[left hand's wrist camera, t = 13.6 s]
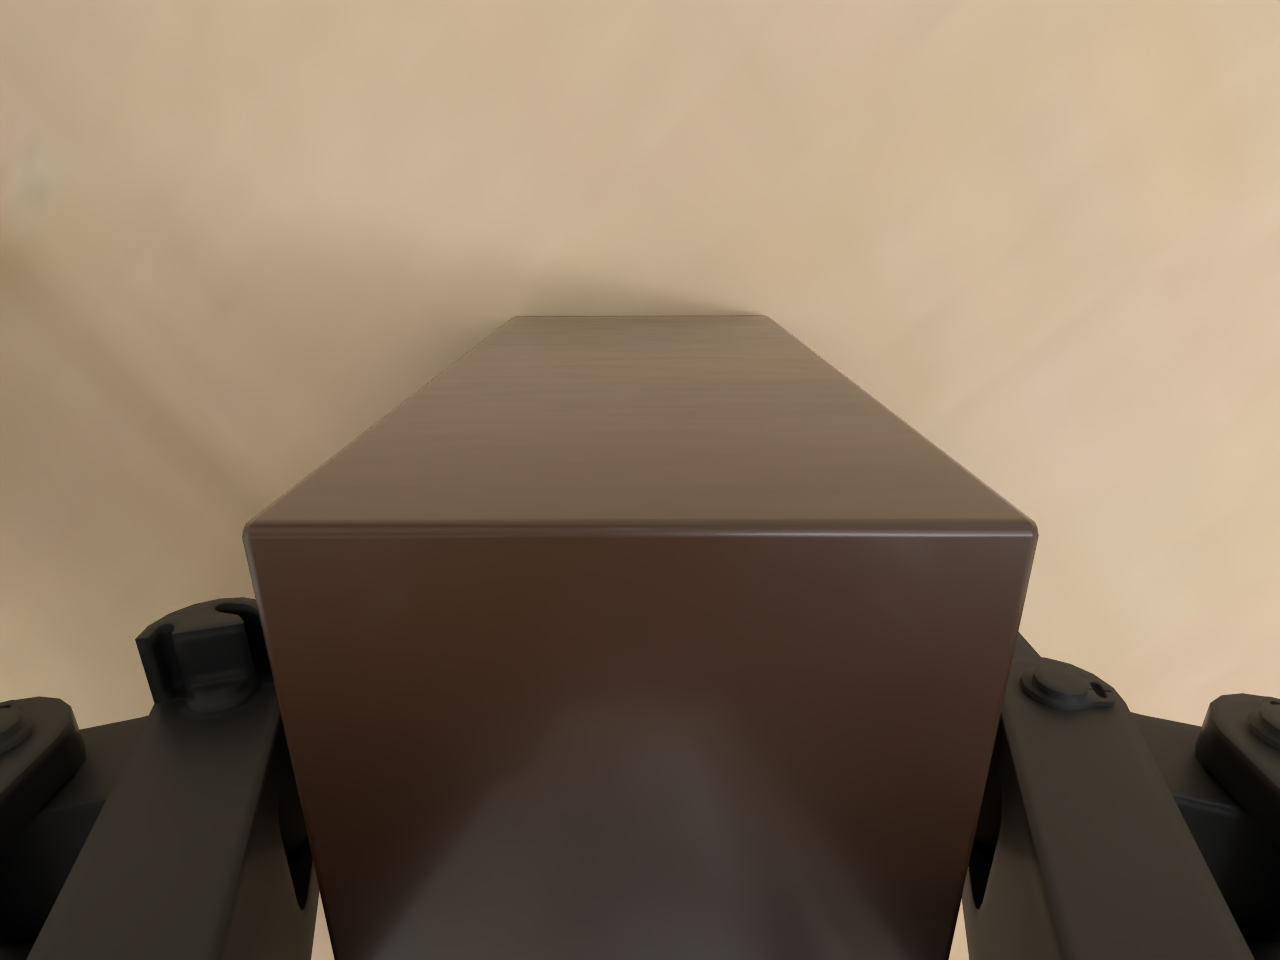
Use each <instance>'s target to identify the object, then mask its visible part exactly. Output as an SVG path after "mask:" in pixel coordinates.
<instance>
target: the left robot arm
mask: <svg viewBox="0 0 1280 960" xmlns="http://www.w3.org/2000/svg"><path fill="white" fill-rule="evenodd" d="M135 641H136V644H137V647H138V650H139V654H140V657H141V660H142V664H143V667H144V670H145V673H146V677H147V680H148V683H149V687H150V690H151V693H152V696H153V700H154V703H155V704H154V706H153V708H152V710H151V712H150V714H149V716H145V717H141V718H137V719H132V720H127V721H122V722H117V723H111V724H106V725H101V726H96V727H91V728H86V729H81V730H79V728H78V725H77V722H76V719H75V717H74V714H73V711H72V708H71V706H69V705H68V704H67V703H65V702H64V701H62V700H61V699H57V698H47V697H33V698H26V699H19V700H10V701H6V702H1V703H0V960H311V954H312V946H313V938H314V930H315V922H316V914H317V906H318V898H319V885H318V881H317V876H316V872H315V867H314V863H313V858H312V853H311V849H310V844H309V840H308V835H307V831H306V826H305V821H304V817H303V812H302V808H301V803H300V799H299V794H298V789H297V785H296V780H295V776H294V771H293V766H292V762H291V757H290V753H289V748H288V744H287V739H286V734H285V730H284V725H283V721H282V716H281V712H280V707H279V702H278V698H277V693H276V689H275V684H274V680H273V675H272V670H271V666H270V661H269V657H268V652H267V648H266V643H265V638H264V634H263V629H262V625H261V620H260V615H259V611H258V606H257V602H256V600H255V599H249V598H244V597H243V598H224V599H216V600H212V601H207V602H203V603H198V604H194V605H191V606H188V607H186V608H183V609H180V610H178V611H175V612H173V613H170V614H168V615H166V616H165V617H163V618H161V619H159V620H158V621H156V622H154V623H153V624H151V625H149V626H148V627H147V628H146V629H145V630H144V631H143V632H142V633H141V634H140V635H139V636H138V637H137V638H136V639H135ZM962 904H963V912H964V920H965V928H966V936H967V944H968V952H969V960H1280V699H1277V698H1273V697H1264V696H1257V695H1250V694H1243V693H1242V694H1231V695H1222V696H1220V697H1219V698H1217V699H1216V700H1214V701H1213V702H1211V703H1210V705H1209V708H1208V711H1207V714H1206V717H1205V719H1204V722H1203V725H1202V727H1200V726H1195V725H1190V724H1185V723H1180V722H1175V721H1170V720H1165V719H1160V718H1155V717H1149V716H1144V715H1140V714H1136V713H1132V712H1130V711H1129V709H1128V707H1127V705H1126V703H1125V702H1124V700H1123V699H1122V698H1121V697H1120V695H1119V694H1118V693H1117V692H1116V691H1115V689H1114V688H1113V687H1111V686H1110V685H1108V684H1107V683H1105V682H1104V681H1103V680H1101V679H1100V678H1098V677H1097V676H1095V675H1094V674H1092V673H1089V672H1087V671H1085V670H1083V669H1080V668H1078V667H1076V666H1074V665H1071V664H1068V663H1064V662H1060V661H1056V660H1052V659H1048V658H1042V657H1040V655H1039V654H1038V653H1037V652H1036V651H1035V650H1034V649H1033V648H1032V646H1031V645H1030V644H1029V643H1028V642H1027V641H1026V640H1025V639H1024V638H1023V636H1022V635H1021V634H1020V633H1019V632H1018V634H1017V639H1016V644H1015V649H1014V653H1013V658H1012V663H1011V667H1010V672H1009V677H1008V682H1007V686H1006V691H1005V696H1004V700H1003V705H1002V710H1001V715H1000V719H999V724H998V729H997V733H996V738H995V743H994V747H993V752H992V757H991V762H990V766H989V771H988V776H987V780H986V785H985V790H984V795H983V799H982V804H981V809H980V813H979V818H978V823H977V828H976V832H975V837H974V842H973V846H972V851H971V856H970V860H969V865H968V870H967V875H966V879H965V884H964V889H963V893H962Z"/></svg>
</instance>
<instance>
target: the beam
mask: <svg viewBox="0 0 1280 960" xmlns="http://www.w3.org/2000/svg"><path fill="white" fill-rule="evenodd" d="M242 538H243V542H244V547H245V551H246V556H247V561H248V565H249V570H250V574H251V579H252V583H253V588H254V593H255V597H256V602H257V606H258V611H259V615H260V620H261V625H262V629H263V634H264V638H265V643H266V648H267V652H268V657H269V661H270V666H271V670H272V675H273V680H274V684H275V689H276V693H277V698H278V702H279V707H280V712H281V716H282V721H283V725H284V730H285V734H286V739H287V744H288V748H289V753H290V757H291V762H292V766H293V771H294V776H295V780H296V785H297V789H298V794H299V799H300V803H301V808H302V812H303V817H304V821H305V826H306V831H307V835H308V840H309V844H310V849H311V853H312V858H313V863H314V867H315V872H316V876H317V881H318V885H319V890H320V895H321V899H322V904H323V908H324V913H325V917H326V922H327V927H328V931H329V936H330V940H331V945H332V950H333V954H334V959H335V960H948V959H949V955H950V950H951V945H952V940H953V936H954V931H955V926H956V922H957V917H958V912H959V908H960V903H961V898H962V893H963V889H964V884H965V879H966V875H967V870H968V865H969V860H970V856H971V851H972V846H973V842H974V837H975V832H976V828H977V823H978V818H979V813H980V809H981V804H982V799H983V795H984V790H985V785H986V780H987V776H988V771H989V766H990V762H991V757H992V752H993V747H994V743H995V738H996V733H997V729H998V724H999V719H1000V715H1001V710H1002V705H1003V700H1004V696H1005V691H1006V686H1007V682H1008V677H1009V672H1010V667H1011V663H1012V658H1013V653H1014V649H1015V644H1016V639H1017V634H1018V630H1019V625H1020V620H1021V616H1022V611H1023V606H1024V602H1025V597H1026V592H1027V587H1028V583H1029V578H1030V573H1031V569H1032V564H1033V559H1034V554H1035V550H1036V545H1037V540H1038V530H1037V526H1036V523H1035V522H1034V521H1033V520H1031V519H1030V518H1029V517H1028V516H1026V515H1025V514H1024V513H1022V512H1021V511H1020V510H1018V509H1017V508H1016V507H1015V506H1013V505H1012V504H1011V503H1009V502H1008V501H1007V500H1006V499H1004V498H1003V497H1002V496H1000V495H999V494H998V493H996V492H995V491H994V490H993V489H991V488H990V487H989V486H987V485H986V484H985V483H983V482H982V481H981V480H980V479H978V478H977V477H976V476H974V475H973V474H972V473H970V472H969V471H968V470H967V469H965V468H964V467H963V466H961V465H960V464H959V463H957V462H956V461H955V460H954V459H952V458H951V457H950V456H948V455H947V454H946V453H945V452H943V451H942V450H941V449H939V448H938V447H937V446H935V445H934V444H933V443H932V442H930V441H929V440H928V439H926V438H925V437H924V436H922V435H921V434H920V433H919V432H917V431H916V430H915V429H913V428H912V427H911V426H909V425H908V424H907V423H906V422H904V421H903V420H902V419H900V418H899V417H898V416H896V415H895V414H894V413H893V412H891V411H890V410H889V409H887V408H886V407H885V406H884V405H882V404H881V403H880V402H878V401H877V400H876V399H874V398H873V397H872V396H871V395H869V394H868V393H867V392H865V391H864V390H863V389H861V388H860V387H859V386H858V385H856V384H855V383H854V382H852V381H851V380H850V379H848V378H847V377H846V376H845V375H843V374H842V373H841V372H839V371H838V370H837V369H835V368H834V367H833V366H832V365H830V364H829V363H828V362H826V361H825V360H824V359H823V358H821V357H820V356H819V355H817V354H816V353H815V352H813V351H812V350H811V349H810V348H808V347H807V346H806V345H804V344H803V343H802V342H800V341H799V340H798V339H797V338H795V337H794V336H793V335H791V334H790V333H789V332H787V331H786V330H785V329H784V328H782V327H781V326H780V325H778V324H777V323H776V322H774V321H773V320H772V319H771V318H769V317H767V316H516V317H514V318H512V319H511V320H509V321H508V322H507V323H506V324H504V325H503V326H502V327H500V328H499V329H498V330H496V331H495V332H494V333H493V334H491V335H490V336H489V337H487V338H486V339H485V340H484V341H482V342H481V343H480V344H478V345H477V346H476V347H474V348H473V349H472V350H471V351H469V352H468V353H467V354H465V355H464V356H463V357H461V358H460V359H459V360H458V361H456V362H455V363H454V364H452V365H451V366H450V367H449V368H447V369H446V370H445V371H443V372H442V373H441V374H439V375H438V376H437V377H436V378H434V379H433V380H432V381H430V382H429V383H428V384H426V385H425V386H424V387H423V388H421V389H420V390H419V391H417V392H416V393H415V394H413V395H412V396H411V397H410V398H408V399H407V400H406V401H404V402H403V403H402V404H401V405H399V406H398V407H397V408H395V409H394V410H393V411H391V412H390V413H389V414H388V415H386V416H385V417H384V418H382V419H381V420H380V421H378V422H377V423H376V424H375V425H373V426H372V427H371V428H369V429H368V430H367V431H366V432H364V433H363V434H362V435H360V436H359V437H358V438H356V439H355V440H354V441H353V442H351V443H350V444H349V445H347V446H346V447H345V448H343V449H342V450H341V451H340V452H338V453H337V454H336V455H334V456H333V457H332V458H331V459H329V460H328V461H327V462H325V463H324V464H323V465H321V466H320V467H319V468H318V469H316V470H315V471H314V472H312V473H311V474H310V475H308V476H307V477H306V478H305V479H303V480H302V481H301V482H299V483H298V484H297V485H295V486H294V487H293V488H292V489H290V490H289V491H288V492H286V493H285V494H284V495H283V496H281V497H280V498H279V499H277V500H276V501H275V502H273V503H272V504H271V505H270V506H268V507H267V508H266V509H264V510H263V511H262V512H260V513H259V514H258V515H257V516H255V517H254V518H253V519H251V520H250V521H249V522H248V523H246V525H245V527H244V530H243V537H242Z"/></svg>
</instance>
